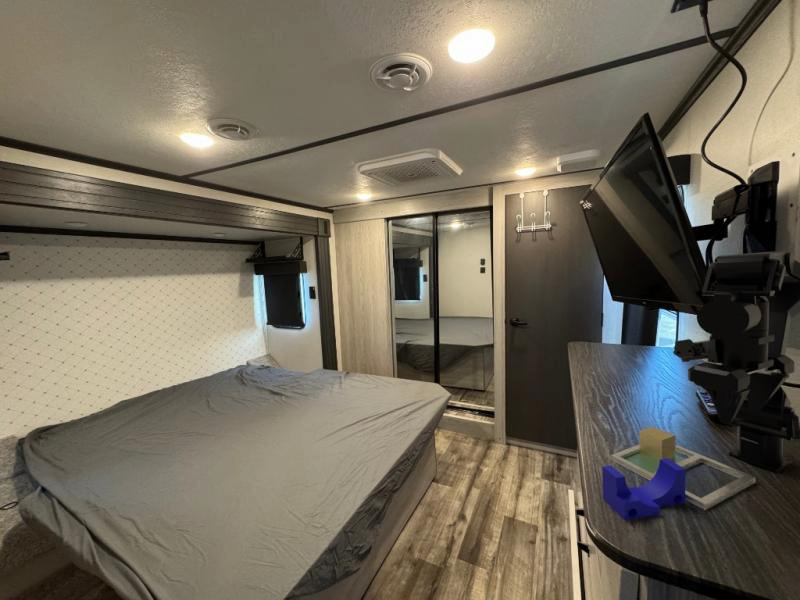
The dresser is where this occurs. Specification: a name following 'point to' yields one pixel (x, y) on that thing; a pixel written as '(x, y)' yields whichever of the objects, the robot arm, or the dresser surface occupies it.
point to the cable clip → (644, 491)
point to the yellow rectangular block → (656, 445)
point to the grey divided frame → (648, 470)
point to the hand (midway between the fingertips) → (740, 417)
